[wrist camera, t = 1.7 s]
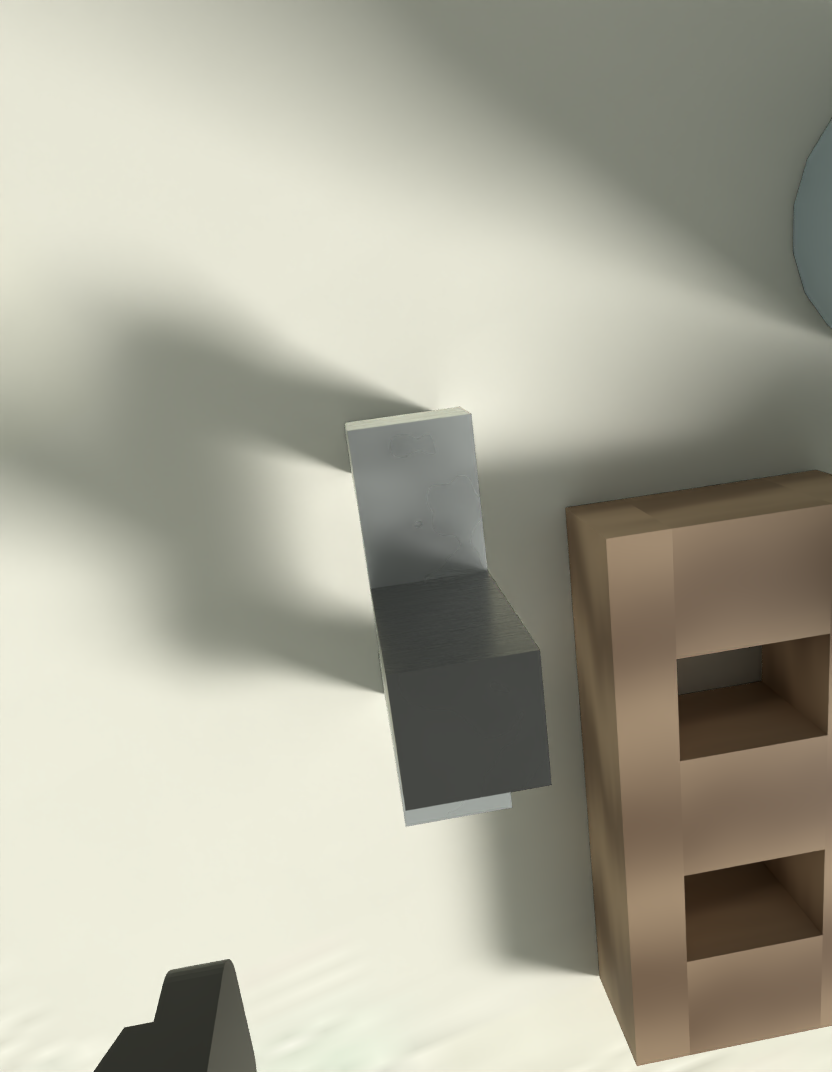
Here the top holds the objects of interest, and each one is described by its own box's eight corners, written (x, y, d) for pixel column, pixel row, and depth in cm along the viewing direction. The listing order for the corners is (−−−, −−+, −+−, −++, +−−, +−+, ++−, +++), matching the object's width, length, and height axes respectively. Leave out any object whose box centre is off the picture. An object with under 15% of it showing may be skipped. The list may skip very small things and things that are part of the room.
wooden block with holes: (565, 507, 27) (606, 538, 23) (815, 469, 27) (896, 494, 23) (599, 977, 32) (637, 1066, 28) (807, 936, 33) (871, 1017, 29)
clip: (341, 403, 25) (355, 469, 14) (434, 390, 25) (522, 444, 14) (387, 712, 28) (429, 970, 17) (469, 698, 28) (565, 944, 17)
